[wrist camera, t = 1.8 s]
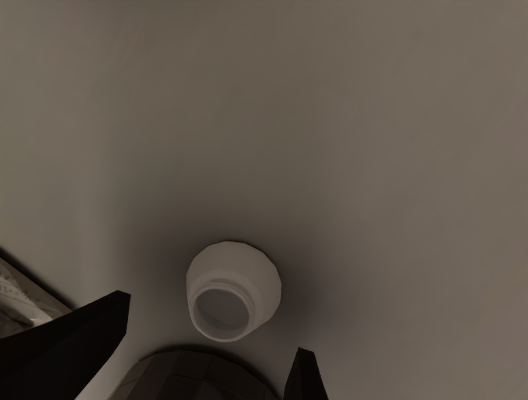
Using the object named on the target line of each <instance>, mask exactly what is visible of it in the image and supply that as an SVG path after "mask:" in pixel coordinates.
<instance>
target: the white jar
mask: <svg viewBox="0 0 528 400" xmlns="http://www.w3.org/2000/svg"><path fill="white" fill-rule="evenodd" d="M186 286H187V299H188V306H189V314H190V318H191V320H192V322H193V324H194V326H195V327H196V328H197V330H198V331H199V332H200V333H202V334H203V335H204V336H206V337H208V338H210V339H212V340H215V341H219V342H233V341H236V340H239V339H241V338H243V337H244V336H245V335H247V334H249V333H250V332H252V331H253V330H255V329H256V328H258V327H259V326H261V325H262V324H264V323H265V322H266V321H268V320H269V319H271V318H272V316H273V315H274V313H275V311H276V309H277V308H278V306H279V304H280V299H281V286H282V283H281V280H280V277H279V275H278V272H277V269H276V267H275V265H274V264H273V263H272V262H271V261H270V260H269V259H268V258H267V257H266V256H265V254H264V253H263V252H261V251H259V250H257V249H255V248H253V247H251V246H249V245H247V244H245V243H238V242H230V241H224V242H220V243H217V244H213V245H210V246H208V247H206V248H205V249H204V250H203V251H202V252H200V253H199V254H198V255H197V256H196V257H195V258H194V259H193V261H192V263H191V265H190V267H189V270H188V272H187V274H186Z"/></svg>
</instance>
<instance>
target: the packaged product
mask: <svg viewBox="0 0 528 400" xmlns="http://www.w3.org/2000/svg"><path fill="white" fill-rule="evenodd" d="M70 312H72V310H70V309H69V308H68V307H66V306H65V305H63V304H62V303H61V302H59V301H58V300H57V299H55V298H54V297H52V296H51V295H50V294H48V293H47V292H46V291H44V290H43V289H41V288H40V287H39V286H37V285H36V284H35V283H33V282H32V281H31V280H29V279H28V278H27V277H25V276H24V275H23V274H21V273H20V272H19V271H17V270H16V269H15V268H13V267H12V266H11V265H9V264H8V263H7V262H6V261H4V260H3V259H2V258H0V338H4V337H7V336H10V335H13V334H16V333H19V332H22V331H25V330H28V329H31V328H34V327H36V326H39V325H42V324H44V323H46V322H49V321H51V320H54V319H56V318H58V317H61V316H63V315H65V314H68V313H70Z"/></svg>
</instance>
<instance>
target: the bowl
mask: <svg viewBox="0 0 528 400" xmlns="http://www.w3.org/2000/svg"><path fill="white" fill-rule="evenodd" d="M107 400H276V398H275V397H274V396H273V394H272V393H271V392H270V390H269V389H268V387H267V386H265V385H264V384H263V383H262V382H260V381H259V380H258V379H257V378H255V377H254V376H253V375H251V374H250V373H249V372H248V371H246V370H245V369H244V368H242V367H241V366H239V365H236V364H234V363H232V362H229V361H227V360H225V359H223V358H220V357H218V356H216V355H212V354H206V353H199V352H193V351H187V350H184V351H183V350H181V351H173V352H165V353H158V354H155V355H153V356H151V357H149V358H147V359H145V360H143V361H141V362H138V363H136V364H135V365H134V366H133V367H132V368H131V369H130V370H129V371H128V372H127V374H126V375H125V376H124V377H123V378H122V379H121V381H120V382H119V383H118V385H117V386H116V388H115V389H114V390H113V392H112V393H111V395H110V396H109V397H108V399H107Z"/></svg>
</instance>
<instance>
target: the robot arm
mask: <svg viewBox="0 0 528 400" xmlns="http://www.w3.org/2000/svg"><path fill="white" fill-rule="evenodd" d="M130 298H131V294H128V293H125V292H122V291H119V290H117V291H114V292H112V293H110V294H108V295H106V296H104V297H102V298H100V299H98V300H96V301H94V302H91V303H89V304H87V305H85V306H83V307H81V308H79V309H77V310H74V311H72V312H70V313H68V314H65V315H63V316H61V317H58V318H56V319H54V320H51V321H49V322H46V323H44V324H42V325H39V326H36V327H34V328H31V329H28V330H25V331H22V332H19V333H16V334H13V335H10V336H7V337H4V338H0V400H75V398H76V397H77V396H78V395H79V394H80V392H81V391H82V390H83V389H84V388H85V387H86V385H87V384H88V383H89V382H90V381H91V380H92V378H93V377H94V376H95V375H96V374H97V372H98V371H99V370H100V369H101V368H102V366H103V365H104V364H105V363H106V362H107V361H108V359H109V358H110V357H111V356H112V354H113V353H114V351H115V350H116V348H117V347H118V345H119V344H120V342H121V341H122V339H123V338H124V336H125V334H126V330H127V322H128V314H129V306H130ZM283 400H329V399H328V396H327V393H326V391H325V388H324V385H323V382H322V379H321V375H320V372H319V368H318V365H317V361H316V357H315V354H314V352H312V351H309V350H306V349H303V348H300V347H298V350H297V353H296V356H295V359H294V362H293V365H292V368H291V371H290V374H289V377H288V380H287V382H286V385H285V391H284V397H283Z"/></svg>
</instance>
